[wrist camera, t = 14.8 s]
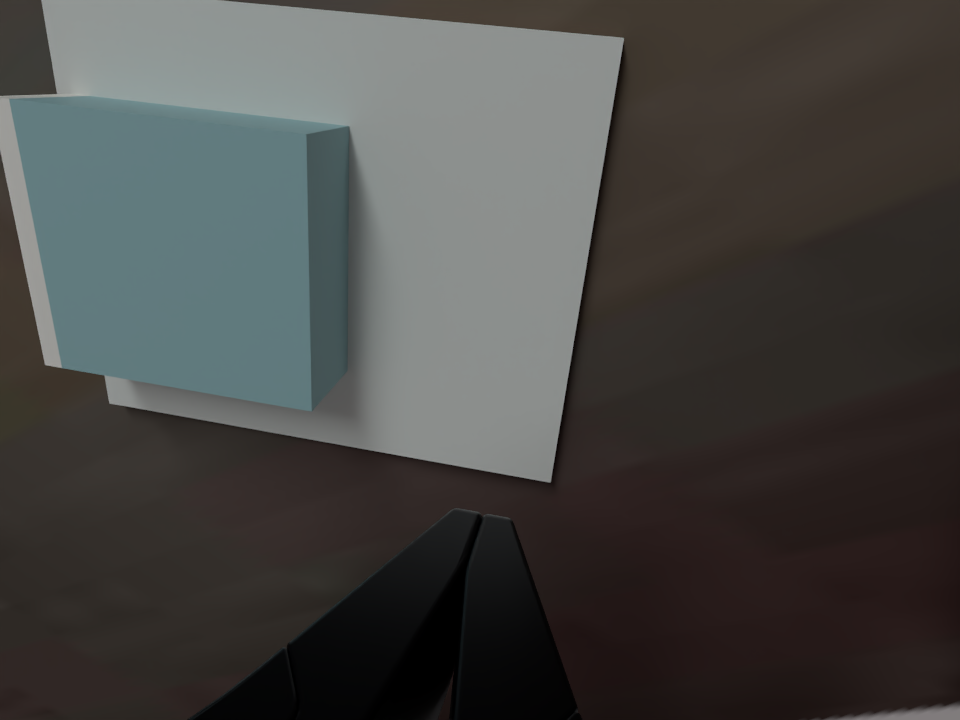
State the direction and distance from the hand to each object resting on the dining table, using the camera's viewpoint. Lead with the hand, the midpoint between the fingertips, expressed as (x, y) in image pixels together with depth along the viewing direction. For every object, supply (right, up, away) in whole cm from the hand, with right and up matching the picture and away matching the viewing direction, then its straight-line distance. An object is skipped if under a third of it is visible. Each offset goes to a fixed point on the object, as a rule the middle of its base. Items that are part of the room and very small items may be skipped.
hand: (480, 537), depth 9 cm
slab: (-4, +5, +10) cm, 12 cm away
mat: (-5, +6, +12) cm, 15 cm away
